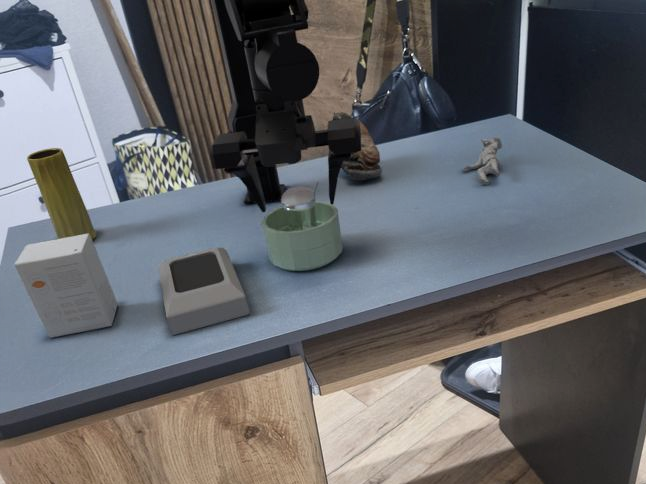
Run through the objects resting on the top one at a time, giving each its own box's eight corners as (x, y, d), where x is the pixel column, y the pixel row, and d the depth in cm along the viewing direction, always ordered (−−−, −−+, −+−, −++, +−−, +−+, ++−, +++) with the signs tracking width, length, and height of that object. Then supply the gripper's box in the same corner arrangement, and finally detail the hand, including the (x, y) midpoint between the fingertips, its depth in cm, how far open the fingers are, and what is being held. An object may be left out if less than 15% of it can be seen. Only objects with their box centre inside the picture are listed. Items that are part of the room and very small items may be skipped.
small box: (119, 305, 85) (91, 231, 79) (113, 327, 80) (82, 251, 74) (58, 316, 84) (25, 243, 78) (48, 339, 79) (12, 263, 73)
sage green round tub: (274, 244, 94) (266, 205, 91) (343, 236, 93) (338, 197, 90) (266, 277, 86) (257, 236, 82) (342, 269, 85) (335, 227, 82)
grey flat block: (163, 309, 74) (154, 258, 86) (172, 335, 76) (162, 282, 89) (243, 287, 76) (223, 240, 88) (250, 314, 78) (230, 264, 90)
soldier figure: (463, 192, 104) (456, 147, 111) (484, 206, 106) (476, 160, 113) (499, 160, 99) (489, 114, 106) (520, 175, 101) (509, 130, 108)
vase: (61, 251, 102) (24, 163, 94) (57, 238, 106) (22, 154, 98) (100, 240, 104) (67, 153, 96) (94, 228, 108) (62, 144, 100)
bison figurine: (391, 178, 110) (386, 118, 104) (356, 189, 108) (348, 129, 102) (358, 162, 119) (351, 106, 114) (324, 172, 117) (316, 115, 111)
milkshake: (323, 259, 87) (312, 189, 81) (287, 259, 88) (273, 189, 82) (333, 244, 90) (322, 175, 84) (297, 244, 92) (285, 176, 86)
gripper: (185, 112, 71) (218, 241, 80) (352, 90, 69) (368, 224, 78) (205, 88, 80) (233, 206, 89) (353, 68, 78) (367, 190, 87)
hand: (298, 207), depth 85 cm, fingers open, 9 cm apart
